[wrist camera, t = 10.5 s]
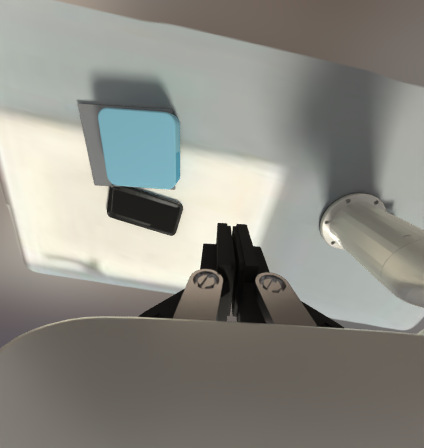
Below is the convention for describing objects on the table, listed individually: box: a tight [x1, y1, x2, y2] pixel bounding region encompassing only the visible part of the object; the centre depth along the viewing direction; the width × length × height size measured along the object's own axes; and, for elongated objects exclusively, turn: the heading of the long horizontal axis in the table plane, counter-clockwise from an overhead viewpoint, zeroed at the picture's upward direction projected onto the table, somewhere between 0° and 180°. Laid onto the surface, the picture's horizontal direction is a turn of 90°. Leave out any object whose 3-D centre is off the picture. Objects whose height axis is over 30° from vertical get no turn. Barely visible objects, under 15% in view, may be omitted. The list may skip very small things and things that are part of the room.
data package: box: [98, 108, 180, 189], centre depth 35 cm, size 12×4×12 cm
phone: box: [107, 184, 183, 236], centre depth 42 cm, size 8×1×15 cm
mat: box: [78, 104, 175, 190], centre depth 37 cm, size 16×14×1 cm
